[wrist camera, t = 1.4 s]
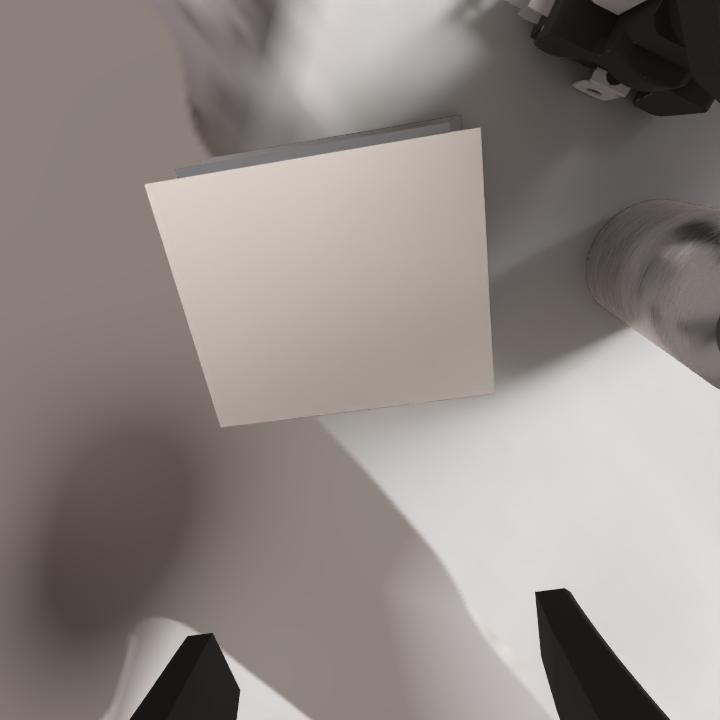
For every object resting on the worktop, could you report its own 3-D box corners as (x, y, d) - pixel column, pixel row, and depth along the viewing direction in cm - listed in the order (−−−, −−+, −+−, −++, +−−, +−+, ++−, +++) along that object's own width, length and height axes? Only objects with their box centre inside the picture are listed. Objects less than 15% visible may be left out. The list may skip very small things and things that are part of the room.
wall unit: (457, 116, 15) (505, 100, 10) (471, 323, 18) (515, 405, 12) (205, 159, 16) (115, 168, 10) (256, 353, 18) (206, 442, 13)
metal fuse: (716, 189, 16) (930, 219, 10) (701, 308, 17) (877, 397, 11) (588, 209, 16) (717, 249, 10) (584, 323, 18) (694, 418, 12)
